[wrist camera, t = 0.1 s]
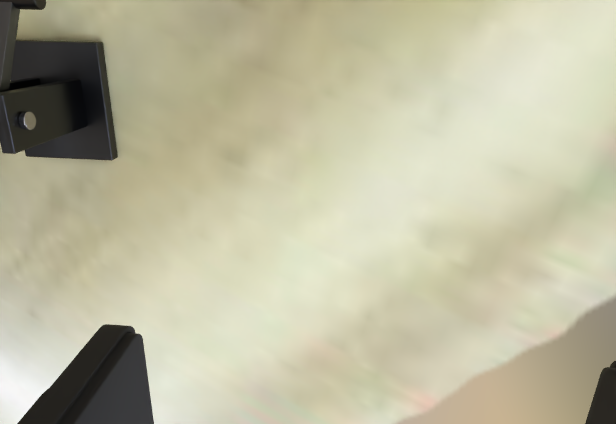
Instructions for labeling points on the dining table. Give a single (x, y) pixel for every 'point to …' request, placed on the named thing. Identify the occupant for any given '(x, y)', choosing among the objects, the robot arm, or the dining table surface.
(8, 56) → the switch lever
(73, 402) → the robot arm
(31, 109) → the switch bracket
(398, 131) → the dining table surface
